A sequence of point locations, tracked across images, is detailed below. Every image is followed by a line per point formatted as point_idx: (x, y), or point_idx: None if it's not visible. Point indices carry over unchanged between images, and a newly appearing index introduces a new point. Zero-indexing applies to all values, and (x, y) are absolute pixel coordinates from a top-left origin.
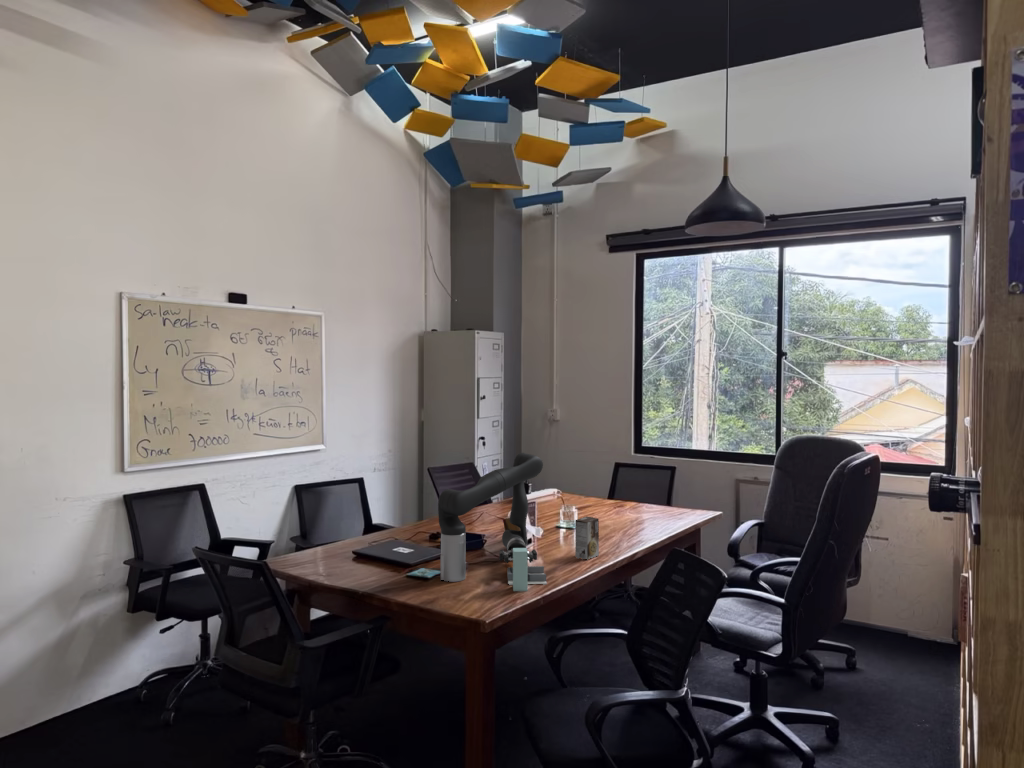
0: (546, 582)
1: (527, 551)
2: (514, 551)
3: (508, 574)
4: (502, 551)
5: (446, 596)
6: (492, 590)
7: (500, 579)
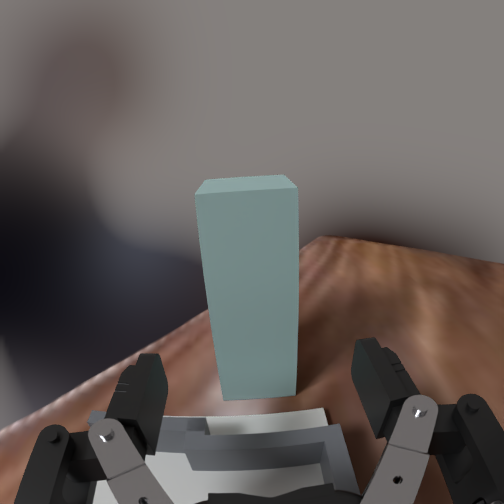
0: None
1: (205, 180)
2: (278, 175)
3: (337, 426)
4: (498, 481)
5: (474, 293)
6: None
7: None
